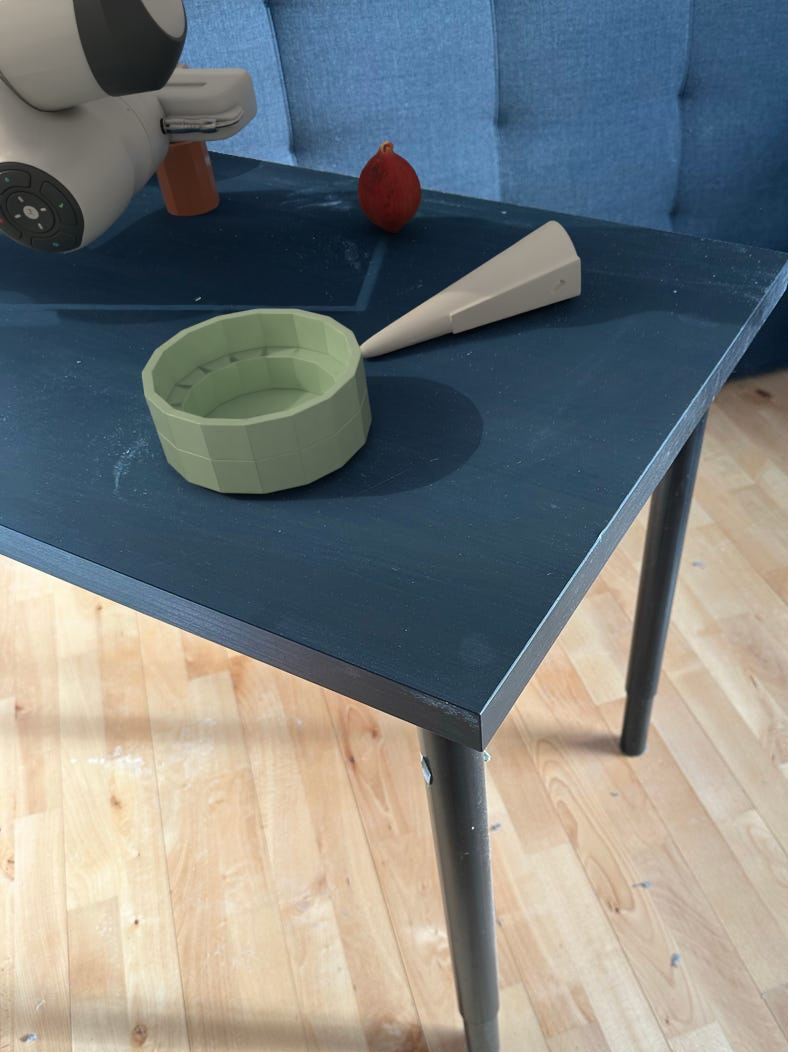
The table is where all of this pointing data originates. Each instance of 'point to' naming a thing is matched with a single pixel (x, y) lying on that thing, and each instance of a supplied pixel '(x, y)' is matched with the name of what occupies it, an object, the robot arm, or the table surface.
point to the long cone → (491, 291)
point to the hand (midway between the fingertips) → (162, 73)
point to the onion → (389, 189)
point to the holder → (188, 179)
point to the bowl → (259, 399)
